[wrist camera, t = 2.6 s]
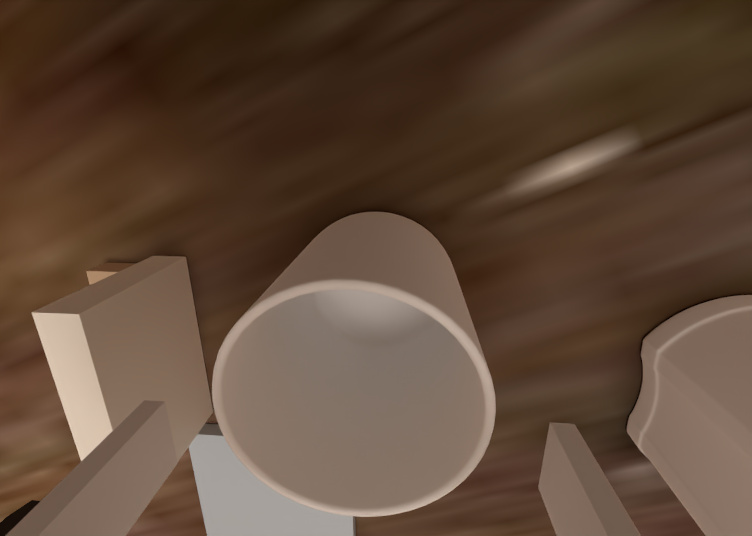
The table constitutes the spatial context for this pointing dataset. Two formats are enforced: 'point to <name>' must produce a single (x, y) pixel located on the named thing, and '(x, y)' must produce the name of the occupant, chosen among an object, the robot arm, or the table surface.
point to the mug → (358, 374)
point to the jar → (701, 411)
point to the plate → (251, 497)
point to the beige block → (128, 350)
